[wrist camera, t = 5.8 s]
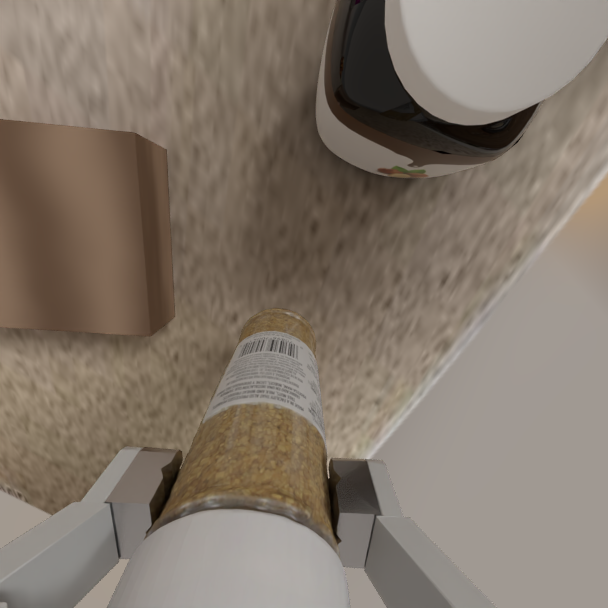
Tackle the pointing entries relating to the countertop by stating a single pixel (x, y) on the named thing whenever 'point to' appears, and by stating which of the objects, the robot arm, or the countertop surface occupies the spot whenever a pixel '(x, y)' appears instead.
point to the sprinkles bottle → (249, 490)
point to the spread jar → (446, 77)
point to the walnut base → (83, 230)
